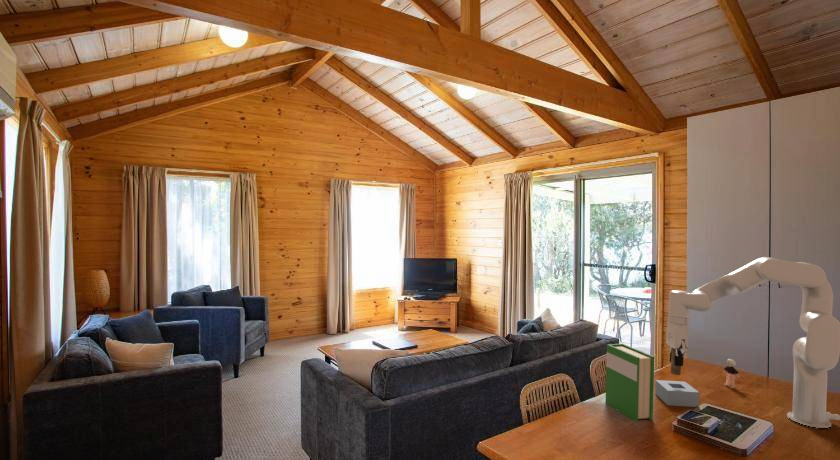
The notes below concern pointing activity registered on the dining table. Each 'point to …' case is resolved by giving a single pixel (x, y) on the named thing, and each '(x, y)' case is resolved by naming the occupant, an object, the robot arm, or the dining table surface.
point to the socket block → (677, 393)
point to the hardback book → (630, 381)
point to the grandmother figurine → (730, 373)
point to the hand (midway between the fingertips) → (676, 363)
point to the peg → (674, 369)
